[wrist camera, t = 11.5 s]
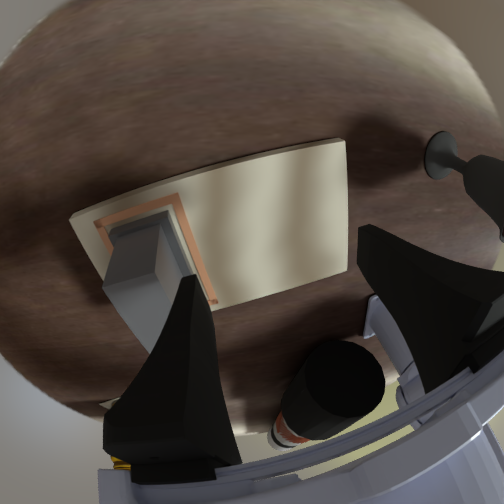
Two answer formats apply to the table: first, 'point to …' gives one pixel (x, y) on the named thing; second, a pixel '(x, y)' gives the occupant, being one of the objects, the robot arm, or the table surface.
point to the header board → (239, 221)
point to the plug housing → (143, 282)
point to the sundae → (470, 175)
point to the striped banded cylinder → (328, 394)
